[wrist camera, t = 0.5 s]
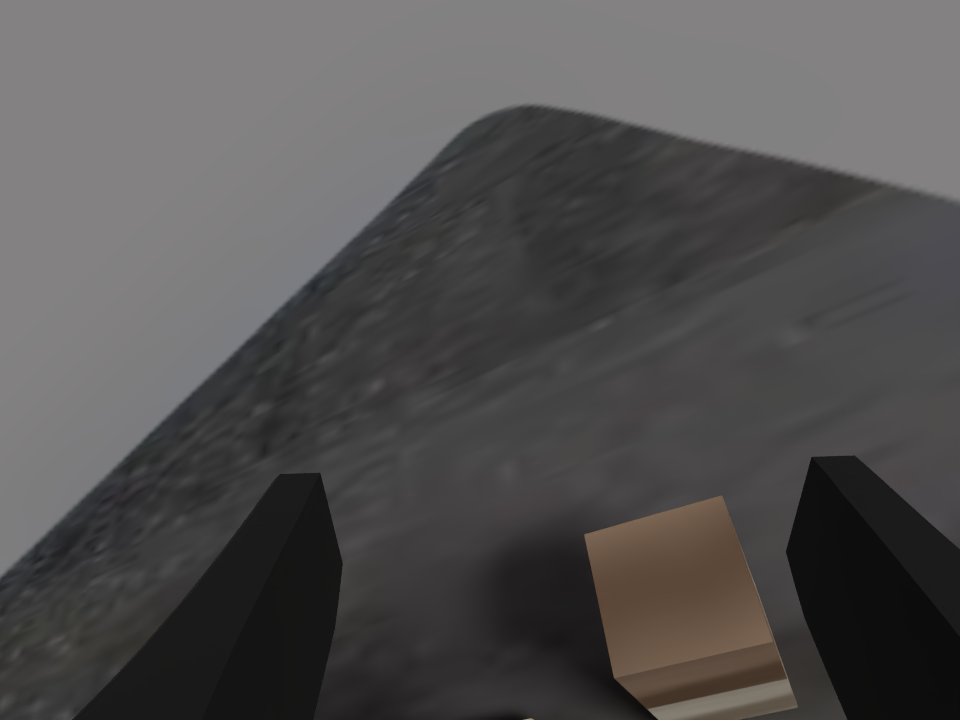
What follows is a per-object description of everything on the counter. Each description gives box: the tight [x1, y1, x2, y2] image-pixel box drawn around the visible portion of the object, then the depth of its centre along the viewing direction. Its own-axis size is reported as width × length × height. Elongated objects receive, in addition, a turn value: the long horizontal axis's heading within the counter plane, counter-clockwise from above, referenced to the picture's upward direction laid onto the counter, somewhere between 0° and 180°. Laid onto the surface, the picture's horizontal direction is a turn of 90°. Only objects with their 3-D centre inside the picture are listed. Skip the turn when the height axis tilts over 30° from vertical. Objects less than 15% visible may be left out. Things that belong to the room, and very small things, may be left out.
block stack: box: [584, 496, 798, 720], centre depth 25 cm, size 4×4×8 cm
